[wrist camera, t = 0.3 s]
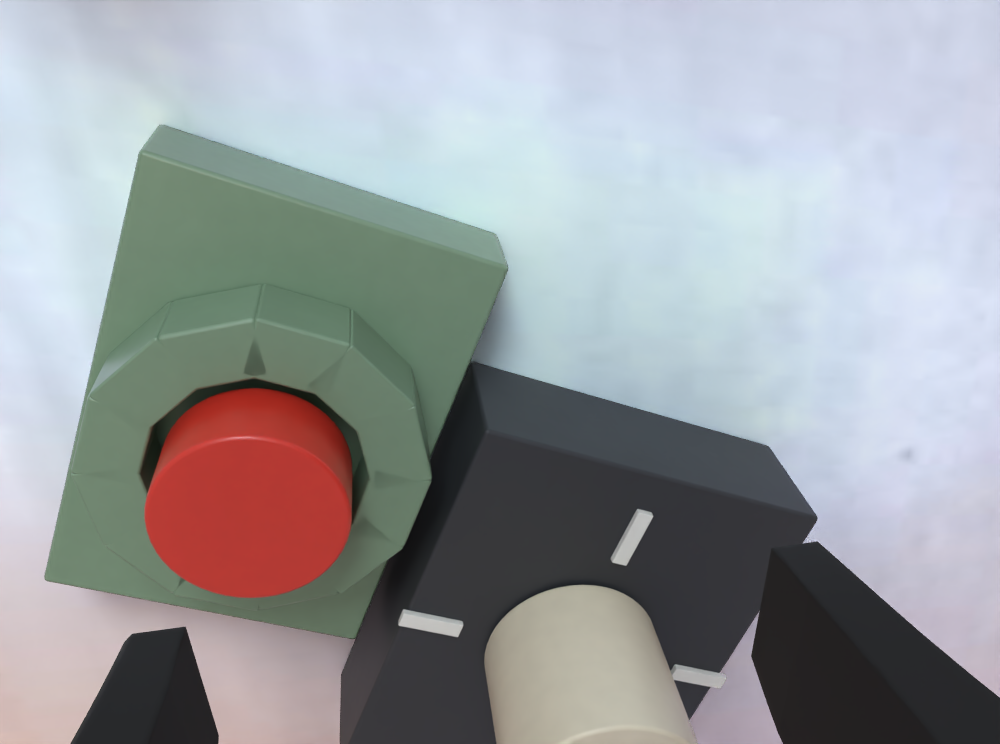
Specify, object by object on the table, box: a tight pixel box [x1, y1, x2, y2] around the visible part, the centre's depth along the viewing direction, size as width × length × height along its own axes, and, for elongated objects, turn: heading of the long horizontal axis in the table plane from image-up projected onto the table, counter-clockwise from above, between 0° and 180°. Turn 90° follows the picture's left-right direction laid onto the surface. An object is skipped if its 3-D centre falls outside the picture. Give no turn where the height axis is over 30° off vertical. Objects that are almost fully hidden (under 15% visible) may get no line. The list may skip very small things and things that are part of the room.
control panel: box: [340, 362, 817, 744], centre depth 23 cm, size 10×8×3 cm
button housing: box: [44, 125, 508, 639], centre depth 20 cm, size 10×7×4 cm
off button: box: [144, 388, 352, 598], centre depth 18 cm, size 4×4×2 cm
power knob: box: [484, 585, 698, 744], centre depth 20 cm, size 4×4×4 cm
